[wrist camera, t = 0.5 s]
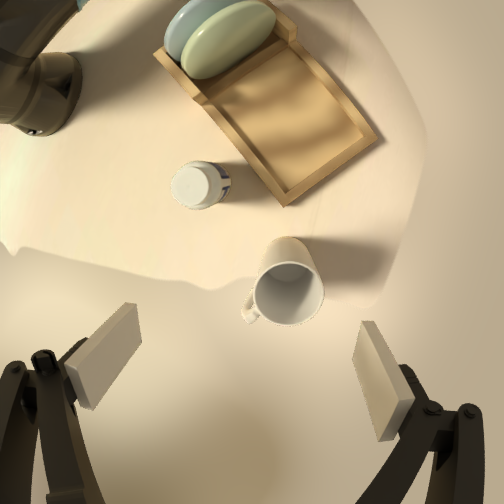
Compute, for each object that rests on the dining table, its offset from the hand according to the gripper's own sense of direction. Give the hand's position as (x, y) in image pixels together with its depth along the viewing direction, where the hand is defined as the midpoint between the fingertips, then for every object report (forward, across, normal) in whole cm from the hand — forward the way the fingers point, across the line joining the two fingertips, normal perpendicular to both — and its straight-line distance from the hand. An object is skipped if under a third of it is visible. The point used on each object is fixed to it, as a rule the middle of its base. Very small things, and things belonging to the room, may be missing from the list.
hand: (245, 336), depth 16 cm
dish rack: (+24, 0, +19) cm, 30 cm away
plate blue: (+24, -6, +26) cm, 36 cm away
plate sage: (+24, -4, +24) cm, 34 cm away
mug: (+24, +2, -4) cm, 24 cm away
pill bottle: (+24, -7, +7) cm, 26 cm away
